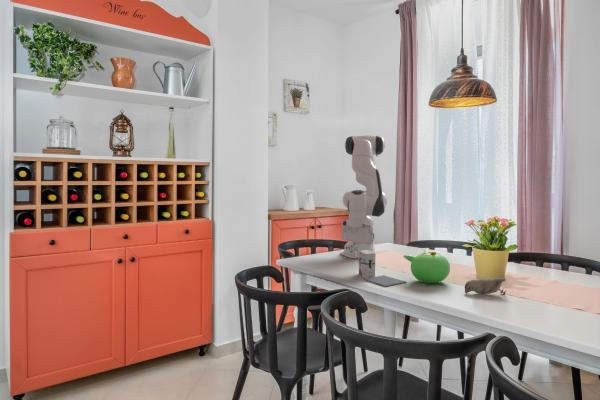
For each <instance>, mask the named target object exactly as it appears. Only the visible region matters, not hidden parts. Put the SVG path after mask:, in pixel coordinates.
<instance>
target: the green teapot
mask: <svg viewBox="0 0 600 400" xmlns="http://www.w3.org/2000/svg"><path fill="white" fill-rule="evenodd" d="M403 258H404V259H406V260H407V261H409V262H410V271H411V274H412V275H413V277H414V278H415V279H416V280H418V281H419V282H421V283H425V284H437V283H440V282H442V281H444V280H446V278H448V276H449V274H450V272H451V265H450V263H449V261H448V259H447V258H446V257H445V255H442V254H441V253H439V252H436V251H430V250H429V248H425V249H424V251H423V253H420V254H418V255H410V254H404V255H403Z"/></svg>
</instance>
